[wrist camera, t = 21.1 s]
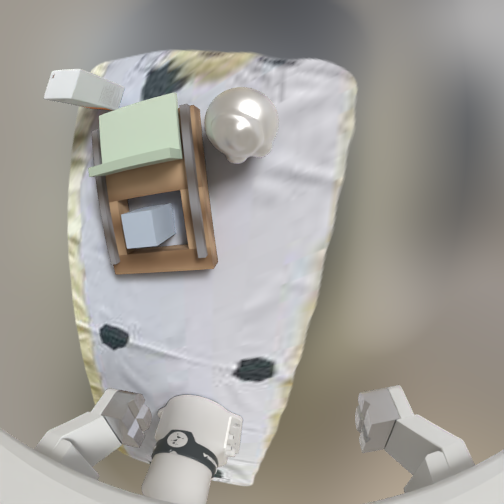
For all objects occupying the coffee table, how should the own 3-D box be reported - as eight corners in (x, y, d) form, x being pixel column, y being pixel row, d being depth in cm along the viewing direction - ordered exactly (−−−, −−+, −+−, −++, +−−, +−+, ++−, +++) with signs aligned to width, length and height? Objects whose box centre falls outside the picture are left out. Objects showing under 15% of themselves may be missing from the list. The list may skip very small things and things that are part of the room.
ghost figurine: (201, 149, 36) (176, 143, 27) (229, 89, 34) (213, 64, 24) (262, 174, 37) (257, 175, 27) (290, 112, 34) (295, 93, 24)
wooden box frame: (218, 261, 41) (211, 271, 37) (124, 268, 42) (111, 277, 38) (199, 109, 35) (190, 103, 31) (104, 134, 36) (89, 132, 32)
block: (175, 233, 40) (157, 245, 33) (149, 236, 41) (127, 248, 34) (171, 202, 39) (151, 210, 32) (144, 206, 39) (120, 214, 33)
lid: (182, 158, 34) (170, 157, 29) (106, 175, 35) (89, 177, 31) (176, 94, 31) (164, 85, 27) (101, 116, 32) (84, 112, 28)
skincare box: (90, 109, 35) (42, 99, 24) (98, 85, 34) (51, 69, 23) (118, 112, 35) (70, 99, 24) (126, 87, 34) (81, 67, 23)
